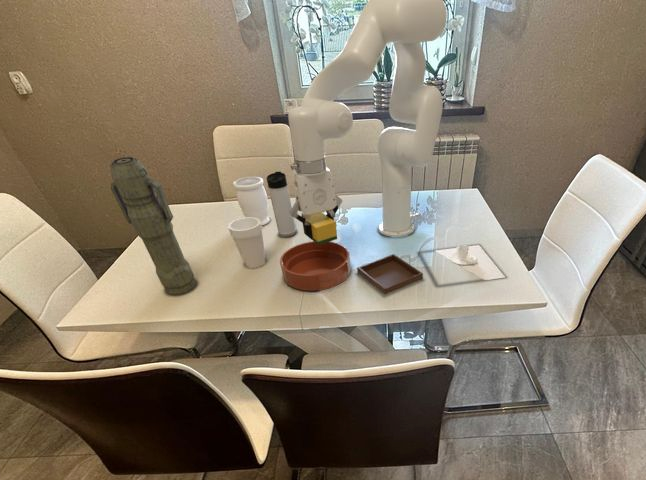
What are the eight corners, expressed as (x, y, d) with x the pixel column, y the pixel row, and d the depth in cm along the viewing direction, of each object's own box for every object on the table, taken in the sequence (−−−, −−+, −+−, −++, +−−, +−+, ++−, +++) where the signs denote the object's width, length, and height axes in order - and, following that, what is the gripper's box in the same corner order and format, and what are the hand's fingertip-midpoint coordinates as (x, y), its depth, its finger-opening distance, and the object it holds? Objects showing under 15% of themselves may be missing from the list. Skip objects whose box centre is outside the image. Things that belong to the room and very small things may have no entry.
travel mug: (298, 229, 136) (287, 171, 123) (294, 237, 132) (282, 178, 118) (281, 229, 137) (269, 171, 123) (276, 237, 132) (263, 178, 119)
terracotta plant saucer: (330, 250, 123) (328, 234, 120) (363, 276, 111) (362, 260, 107) (273, 270, 116) (269, 254, 112) (301, 300, 103) (298, 283, 99)
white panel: (480, 265, 112) (482, 253, 109) (455, 268, 111) (456, 256, 109) (470, 251, 118) (471, 239, 116) (445, 254, 118) (447, 242, 115)
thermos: (198, 293, 108) (142, 163, 84) (156, 297, 108) (89, 168, 84) (205, 277, 115) (155, 152, 91) (166, 280, 114) (105, 156, 90)
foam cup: (275, 257, 122) (266, 218, 113) (260, 272, 115) (249, 232, 106) (250, 254, 124) (239, 215, 115) (234, 268, 118) (221, 228, 109)
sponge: (322, 228, 111) (320, 211, 107) (337, 239, 105) (335, 221, 102) (304, 233, 108) (301, 216, 105) (318, 245, 103) (315, 227, 99)
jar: (278, 219, 143) (269, 178, 133) (258, 230, 137) (248, 188, 127) (258, 214, 148) (248, 174, 138) (238, 224, 142) (226, 183, 131)
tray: (393, 260, 117) (393, 253, 115) (422, 280, 108) (423, 273, 106) (357, 274, 112) (357, 267, 110) (384, 296, 103) (384, 289, 101)
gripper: (285, 176, 88) (298, 247, 100) (348, 162, 95) (353, 230, 107) (273, 168, 93) (286, 237, 105) (333, 155, 100) (340, 221, 112)
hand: (320, 233), depth 106 cm, fingers closed on sponge, 6 cm apart
